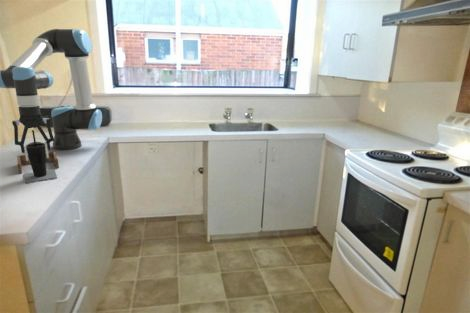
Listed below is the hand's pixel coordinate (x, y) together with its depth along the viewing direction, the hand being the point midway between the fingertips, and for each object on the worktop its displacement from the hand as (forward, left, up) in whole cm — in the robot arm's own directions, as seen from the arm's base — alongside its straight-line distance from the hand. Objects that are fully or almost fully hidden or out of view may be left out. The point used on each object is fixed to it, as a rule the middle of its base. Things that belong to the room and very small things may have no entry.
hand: (37, 158), depth 141 cm
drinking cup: (0, 0, -8) cm, 8 cm away
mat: (0, 0, -8) cm, 8 cm away
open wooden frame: (0, -16, -8) cm, 18 cm away
